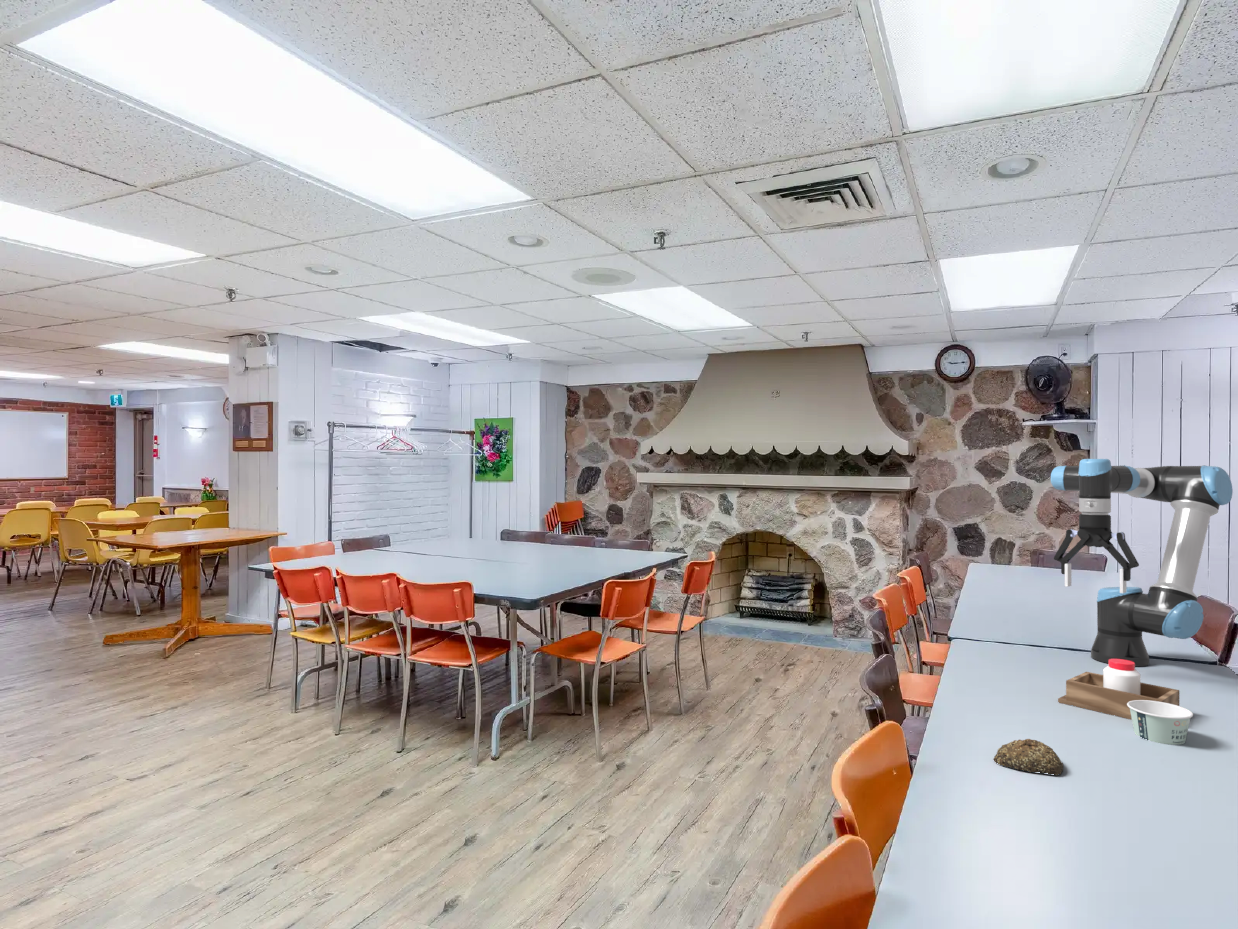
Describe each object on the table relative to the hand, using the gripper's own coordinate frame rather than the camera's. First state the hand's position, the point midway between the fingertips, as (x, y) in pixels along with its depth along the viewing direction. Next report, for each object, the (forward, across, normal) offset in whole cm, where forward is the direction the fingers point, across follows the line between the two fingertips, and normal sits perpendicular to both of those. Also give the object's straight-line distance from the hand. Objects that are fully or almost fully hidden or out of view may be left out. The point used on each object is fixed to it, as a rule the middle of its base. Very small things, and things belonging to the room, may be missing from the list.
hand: (1094, 589), depth 203 cm
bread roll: (+27, +12, -71) cm, 77 cm away
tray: (+27, +12, -18) cm, 34 cm away
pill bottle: (+26, +12, -18) cm, 34 cm away
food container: (+27, +24, -33) cm, 49 cm away
